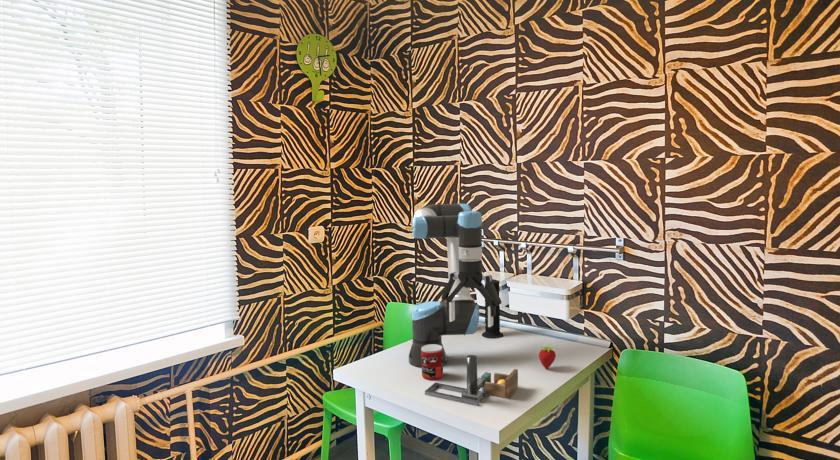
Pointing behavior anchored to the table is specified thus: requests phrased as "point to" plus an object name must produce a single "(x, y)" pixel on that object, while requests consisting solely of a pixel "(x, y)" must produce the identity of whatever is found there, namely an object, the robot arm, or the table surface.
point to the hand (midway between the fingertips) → (471, 323)
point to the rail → (431, 392)
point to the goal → (500, 389)
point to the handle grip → (495, 328)
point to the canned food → (432, 361)
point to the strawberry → (547, 356)
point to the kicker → (474, 380)
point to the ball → (501, 382)
